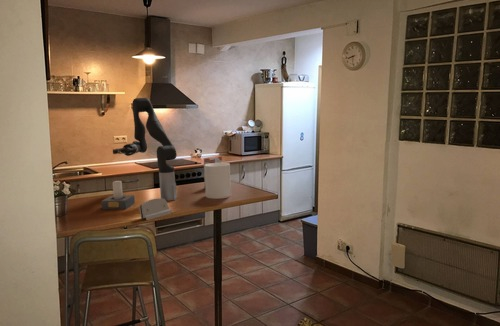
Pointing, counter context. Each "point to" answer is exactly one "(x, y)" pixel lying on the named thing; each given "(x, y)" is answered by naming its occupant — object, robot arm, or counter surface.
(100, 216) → the counter surface
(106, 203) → the socket block
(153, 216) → the hinge
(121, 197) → the peg
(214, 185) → the canister
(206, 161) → the cracker box
